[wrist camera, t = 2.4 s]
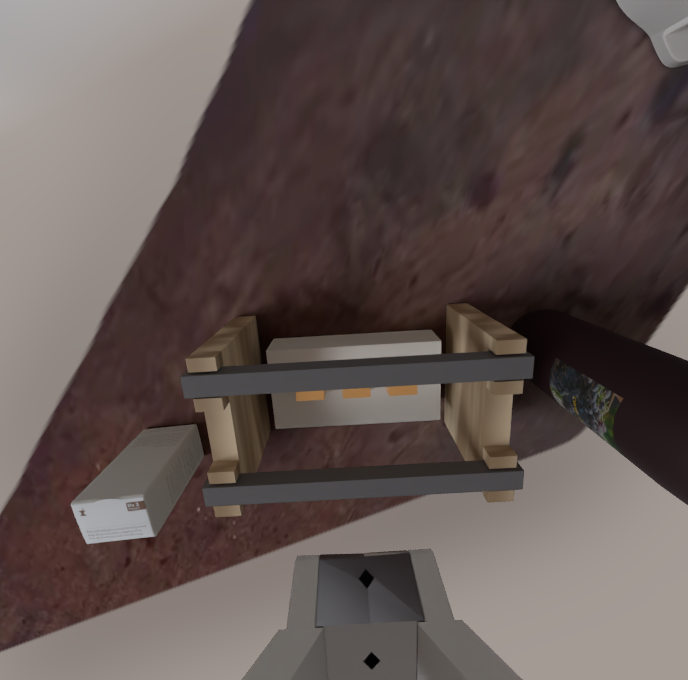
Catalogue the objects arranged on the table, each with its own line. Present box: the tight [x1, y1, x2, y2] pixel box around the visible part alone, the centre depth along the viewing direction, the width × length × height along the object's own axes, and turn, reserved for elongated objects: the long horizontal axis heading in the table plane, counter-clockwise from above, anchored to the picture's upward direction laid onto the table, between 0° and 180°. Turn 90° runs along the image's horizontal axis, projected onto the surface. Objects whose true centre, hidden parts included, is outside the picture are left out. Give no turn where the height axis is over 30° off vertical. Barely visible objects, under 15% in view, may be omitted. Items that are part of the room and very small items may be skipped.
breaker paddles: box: [296, 385, 418, 401], centre depth 34 cm, size 10×1×3 cm, turn 93°
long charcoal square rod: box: [180, 351, 535, 398], centre depth 26 cm, size 24×2×2 cm, turn 93°
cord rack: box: [186, 303, 527, 517], centre depth 33 cm, size 23×13×13 cm, turn 93°
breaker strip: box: [266, 330, 441, 429], centre depth 37 cm, size 16×8×4 cm, turn 93°
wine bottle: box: [511, 310, 688, 505], centre depth 24 cm, size 7×7×30 cm
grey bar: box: [202, 460, 524, 506], centre depth 29 cm, size 24×2×2 cm, turn 93°
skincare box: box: [71, 424, 204, 544], centre depth 36 cm, size 6×4×12 cm
